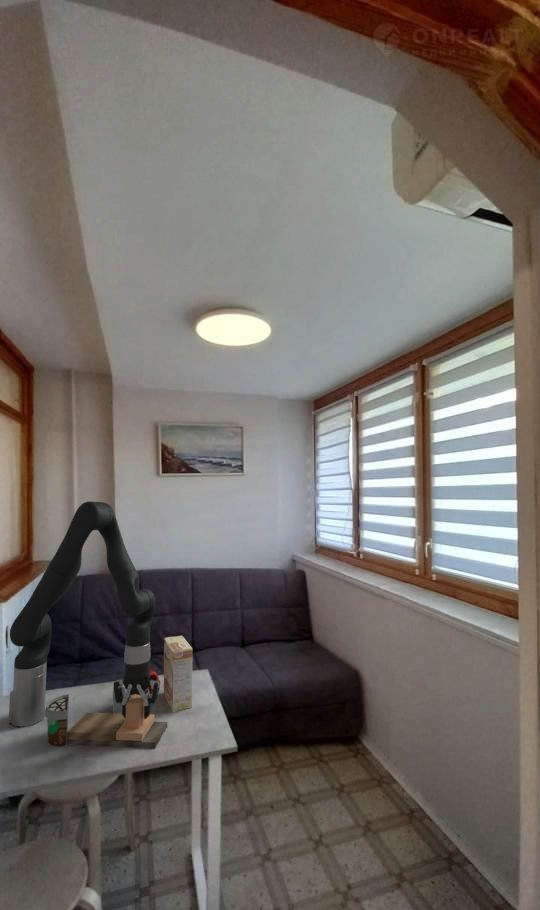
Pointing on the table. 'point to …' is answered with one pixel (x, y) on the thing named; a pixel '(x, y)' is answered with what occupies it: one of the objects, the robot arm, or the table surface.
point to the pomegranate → (152, 678)
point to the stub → (135, 721)
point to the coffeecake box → (178, 673)
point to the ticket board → (127, 743)
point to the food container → (57, 720)
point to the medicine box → (118, 706)
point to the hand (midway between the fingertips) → (136, 716)
